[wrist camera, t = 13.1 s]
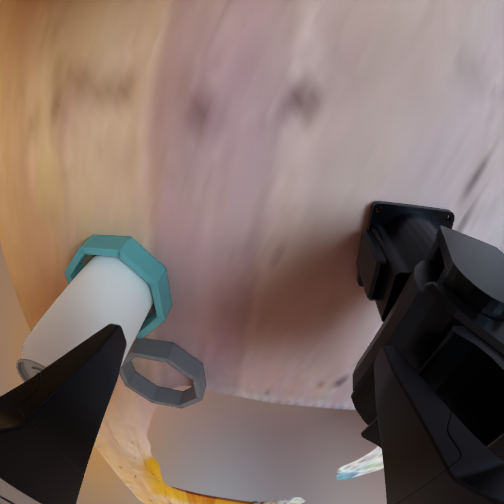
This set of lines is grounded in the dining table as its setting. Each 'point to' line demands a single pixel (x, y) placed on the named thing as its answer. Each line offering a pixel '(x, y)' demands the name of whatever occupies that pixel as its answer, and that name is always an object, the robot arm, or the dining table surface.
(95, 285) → the can
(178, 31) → the dining table surface
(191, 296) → the dining table surface
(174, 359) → the socket
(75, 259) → the socket
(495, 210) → the dining table surface
